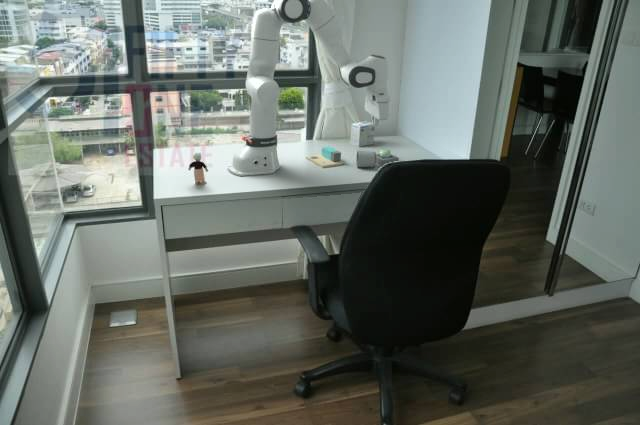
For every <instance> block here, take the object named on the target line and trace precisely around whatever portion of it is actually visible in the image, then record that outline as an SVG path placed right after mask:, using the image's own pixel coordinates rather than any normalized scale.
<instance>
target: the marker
mask: <svg viewBox="0 0 640 425" xmlns="http://www.w3.org/2000/svg"><path fill="white" fill-rule="evenodd" d="M321 154H322V156H323V157H325V158H327V159H328V160H330V161H333V162H336V161H342V158H341V157H342V153H341V151H339V150H337V149H335V148H334V147H331V146H330V145H329V146H323V147H321Z"/></svg>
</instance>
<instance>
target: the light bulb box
mask: <svg viewBox="0 0 640 425" xmlns="http://www.w3.org/2000/svg"><path fill="white" fill-rule="evenodd" d="M375 128H376V126H374V125H372V121H369V120H365V121H359V122H354V123H351V127H350V131H351V132H350V145H352V146H355V147H357V148H360V147H361V148H362V147H364V146H369V145H373V144H374V141H375Z"/></svg>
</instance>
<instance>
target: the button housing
mask: <svg viewBox="0 0 640 425" xmlns="http://www.w3.org/2000/svg"><path fill="white" fill-rule="evenodd" d="M399 160H400V157H399V156H396V155H394V154H392V153H391V154H390V158H385V159H383V158H381V157H380V152H379V153H376V164H375V165H378V166H380V167H382V166H383V165H384V164H386V163H389V162H394V161H399Z"/></svg>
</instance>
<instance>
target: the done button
mask: <svg viewBox="0 0 640 425" xmlns="http://www.w3.org/2000/svg"><path fill="white" fill-rule="evenodd" d="M391 152H392V151H391V149H386V148H384V149H383V148H382V149H380V150H379V153H380V157H381V158H383V159H385V158H390V154H392V153H391Z"/></svg>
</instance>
